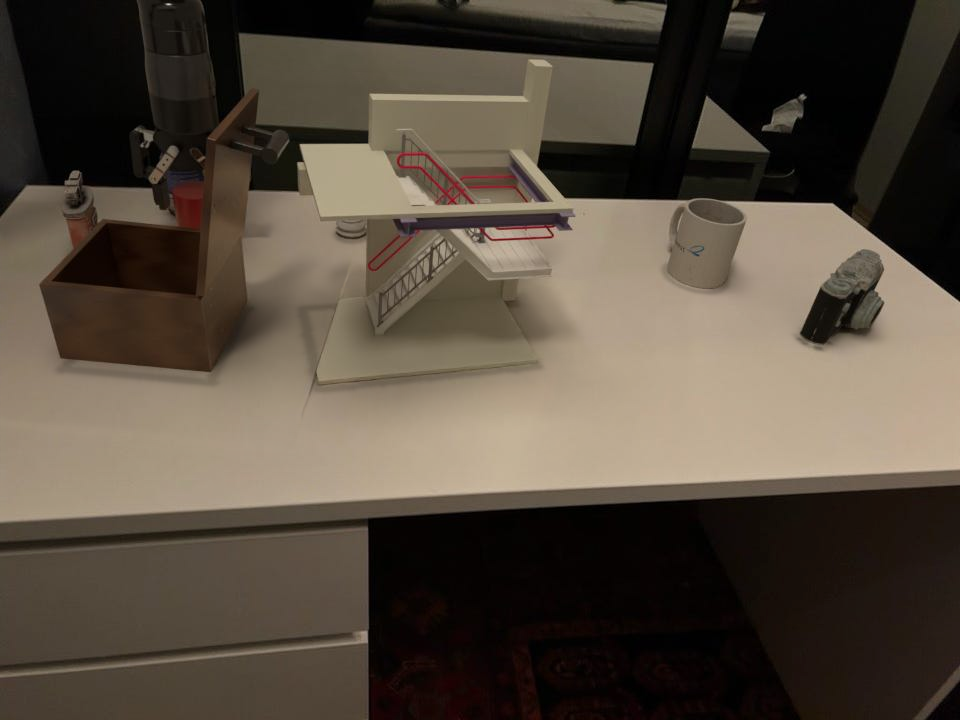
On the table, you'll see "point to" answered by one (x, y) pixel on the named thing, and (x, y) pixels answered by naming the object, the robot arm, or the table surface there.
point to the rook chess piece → (351, 228)
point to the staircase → (438, 230)
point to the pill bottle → (180, 179)
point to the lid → (230, 183)
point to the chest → (142, 298)
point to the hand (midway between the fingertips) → (198, 211)
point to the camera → (846, 298)
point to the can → (188, 203)
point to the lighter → (78, 208)
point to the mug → (704, 241)
